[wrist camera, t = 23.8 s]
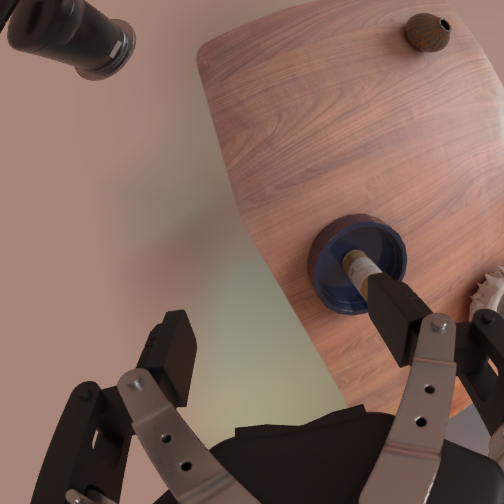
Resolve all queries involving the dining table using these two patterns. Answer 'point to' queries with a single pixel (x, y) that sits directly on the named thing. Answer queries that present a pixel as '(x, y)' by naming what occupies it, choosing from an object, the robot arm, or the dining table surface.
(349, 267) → the sprinkles bottle
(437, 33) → the vase
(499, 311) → the bowl
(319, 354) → the dining table surface
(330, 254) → the pan
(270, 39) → the dining table surface
